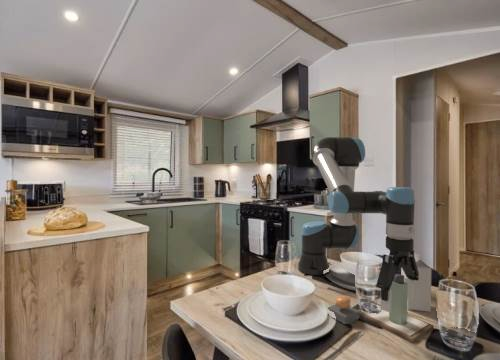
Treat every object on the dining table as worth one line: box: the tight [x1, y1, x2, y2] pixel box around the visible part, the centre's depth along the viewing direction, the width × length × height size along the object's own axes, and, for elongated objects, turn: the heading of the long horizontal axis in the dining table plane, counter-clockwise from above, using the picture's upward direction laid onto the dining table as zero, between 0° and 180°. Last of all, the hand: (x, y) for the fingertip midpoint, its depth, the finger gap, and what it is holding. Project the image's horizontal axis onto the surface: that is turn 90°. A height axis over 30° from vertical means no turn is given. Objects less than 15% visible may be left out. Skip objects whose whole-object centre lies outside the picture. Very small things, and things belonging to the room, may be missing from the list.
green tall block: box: [389, 273, 408, 325], centre depth 82 cm, size 4×4×14 cm
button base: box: [327, 304, 360, 325], centre depth 86 cm, size 7×7×2 cm
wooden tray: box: [357, 308, 434, 344], centre depth 84 cm, size 18×13×2 cm
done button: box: [335, 295, 351, 308], centre depth 86 cm, size 4×4×2 cm
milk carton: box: [400, 251, 432, 312], centre depth 94 cm, size 7×7×19 cm
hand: (398, 304), depth 82 cm, fingers open, 13 cm apart
